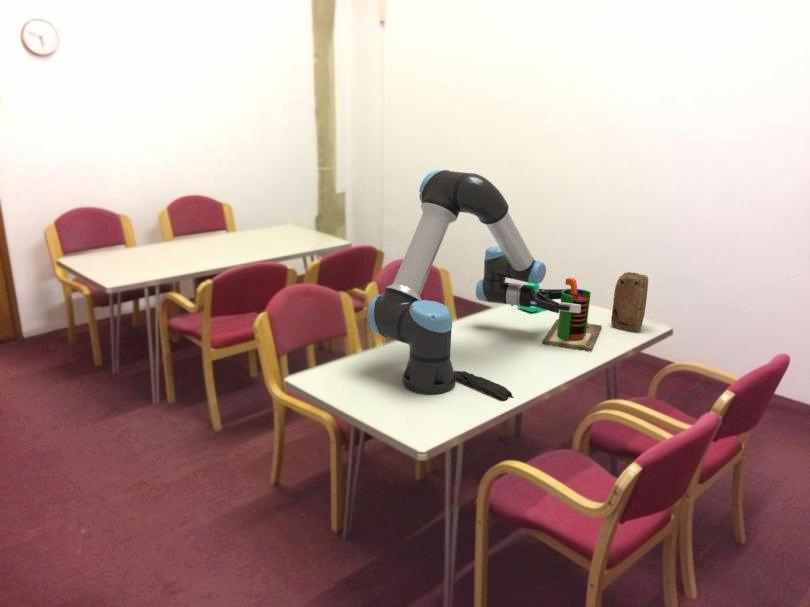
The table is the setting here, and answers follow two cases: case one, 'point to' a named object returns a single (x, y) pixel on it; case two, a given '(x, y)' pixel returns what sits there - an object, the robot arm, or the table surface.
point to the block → (629, 301)
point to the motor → (569, 322)
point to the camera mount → (532, 309)
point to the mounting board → (584, 344)
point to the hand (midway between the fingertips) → (583, 303)
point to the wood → (484, 385)
